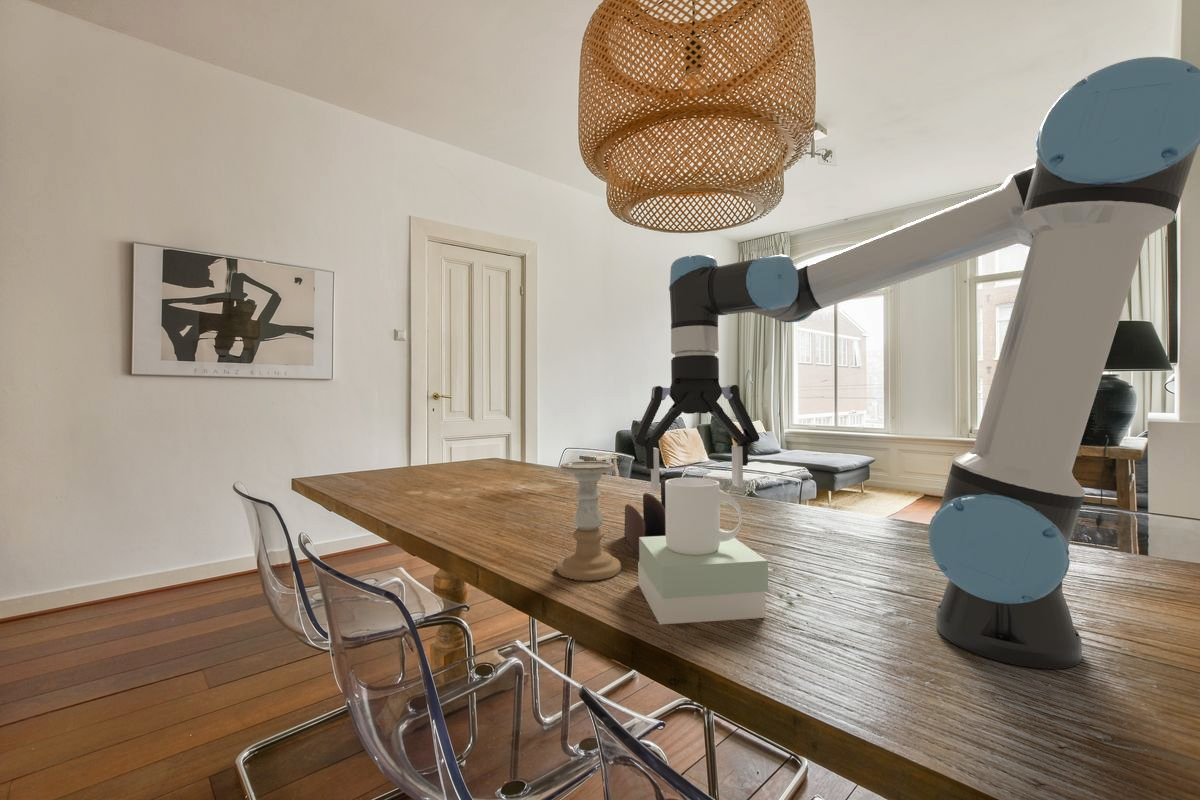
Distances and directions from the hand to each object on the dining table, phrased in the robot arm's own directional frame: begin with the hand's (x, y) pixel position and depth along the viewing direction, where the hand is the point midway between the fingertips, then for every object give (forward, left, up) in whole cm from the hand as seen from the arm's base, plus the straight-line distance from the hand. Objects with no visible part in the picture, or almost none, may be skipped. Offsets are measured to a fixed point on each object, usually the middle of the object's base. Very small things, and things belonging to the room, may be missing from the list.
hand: (696, 488), depth 83 cm
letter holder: (+30, 0, -19) cm, 35 cm away
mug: (-1, -1, -10) cm, 10 cm away
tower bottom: (0, 0, -19) cm, 19 cm away
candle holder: (+17, +16, -18) cm, 30 cm away
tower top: (0, 0, -14) cm, 14 cm away
